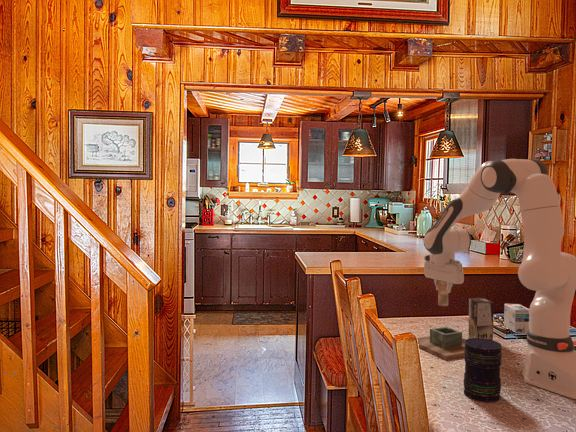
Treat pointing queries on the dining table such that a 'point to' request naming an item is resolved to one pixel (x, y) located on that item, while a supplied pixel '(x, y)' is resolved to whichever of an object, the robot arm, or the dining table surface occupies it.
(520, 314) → the light bulb box
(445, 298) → the peg
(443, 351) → the holder
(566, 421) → the dining table surface
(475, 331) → the coffee box
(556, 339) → the robot arm
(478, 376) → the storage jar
